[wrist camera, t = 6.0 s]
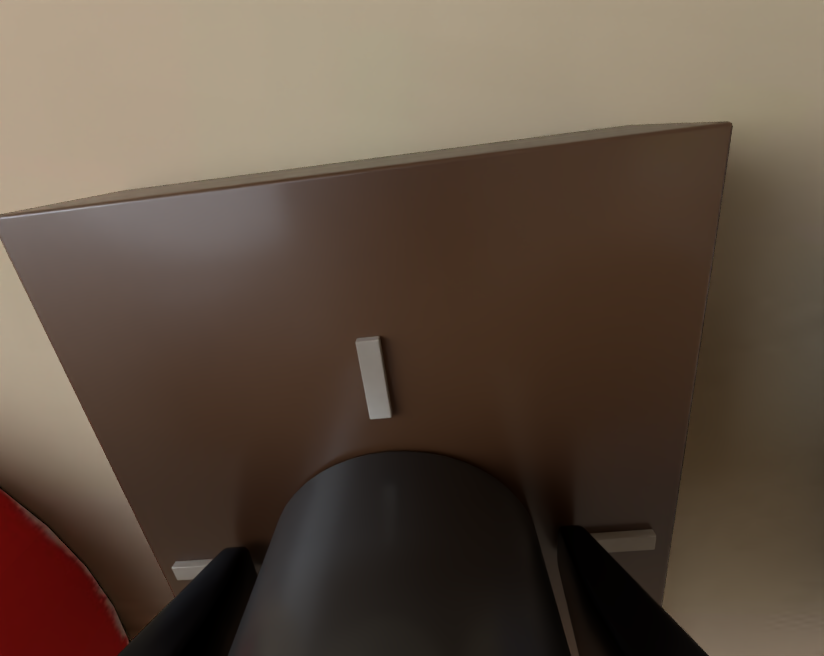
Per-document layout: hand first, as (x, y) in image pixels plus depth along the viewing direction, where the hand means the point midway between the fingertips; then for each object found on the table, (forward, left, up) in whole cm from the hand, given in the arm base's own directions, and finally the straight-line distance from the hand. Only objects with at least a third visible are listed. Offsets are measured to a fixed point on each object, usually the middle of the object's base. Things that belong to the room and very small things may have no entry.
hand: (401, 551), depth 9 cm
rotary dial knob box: (0, 0, -3) cm, 3 cm away
